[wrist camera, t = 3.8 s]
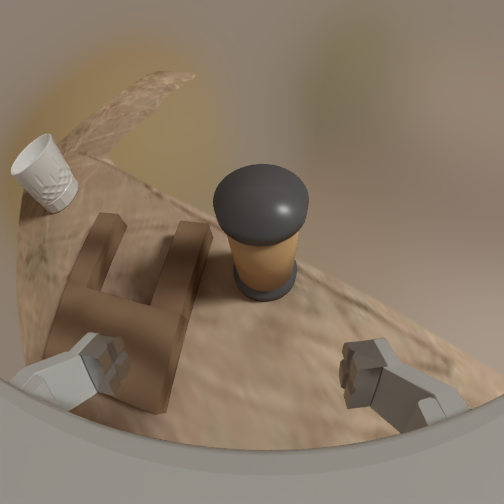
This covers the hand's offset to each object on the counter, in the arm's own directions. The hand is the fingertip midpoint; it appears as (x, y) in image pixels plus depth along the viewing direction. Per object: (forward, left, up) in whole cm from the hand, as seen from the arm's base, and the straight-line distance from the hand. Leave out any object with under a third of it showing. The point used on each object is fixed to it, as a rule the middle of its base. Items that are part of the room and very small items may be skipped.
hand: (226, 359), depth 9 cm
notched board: (+4, +14, -14) cm, 20 cm away
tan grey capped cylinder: (+10, +1, -14) cm, 17 cm away
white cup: (+17, +34, -14) cm, 40 cm away
